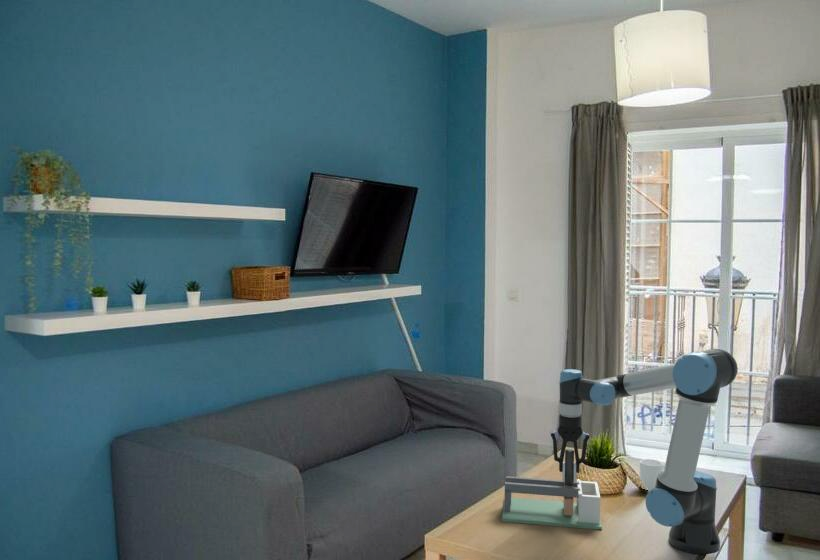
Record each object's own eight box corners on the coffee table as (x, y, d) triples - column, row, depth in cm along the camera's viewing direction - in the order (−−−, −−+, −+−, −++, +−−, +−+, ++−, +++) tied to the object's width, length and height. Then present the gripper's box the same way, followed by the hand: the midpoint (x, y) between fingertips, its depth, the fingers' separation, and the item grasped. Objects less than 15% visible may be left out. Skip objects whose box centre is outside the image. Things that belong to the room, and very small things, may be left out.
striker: (573, 515, 242) (574, 455, 241) (564, 515, 243) (565, 454, 241) (572, 504, 252) (573, 446, 251) (563, 504, 252) (564, 446, 251)
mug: (657, 482, 282) (658, 456, 281) (673, 488, 274) (674, 462, 274) (634, 486, 277) (635, 460, 276) (650, 493, 269) (651, 467, 268)
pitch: (601, 529, 236) (602, 497, 235) (501, 521, 242) (502, 489, 241) (597, 507, 255) (598, 477, 255) (505, 499, 261) (505, 470, 261)
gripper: (593, 413, 247) (592, 479, 249) (546, 410, 250) (545, 476, 252) (595, 418, 240) (593, 486, 241) (546, 416, 243) (545, 483, 244)
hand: (569, 481), depth 247 cm, fingers closed on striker, 3 cm apart
